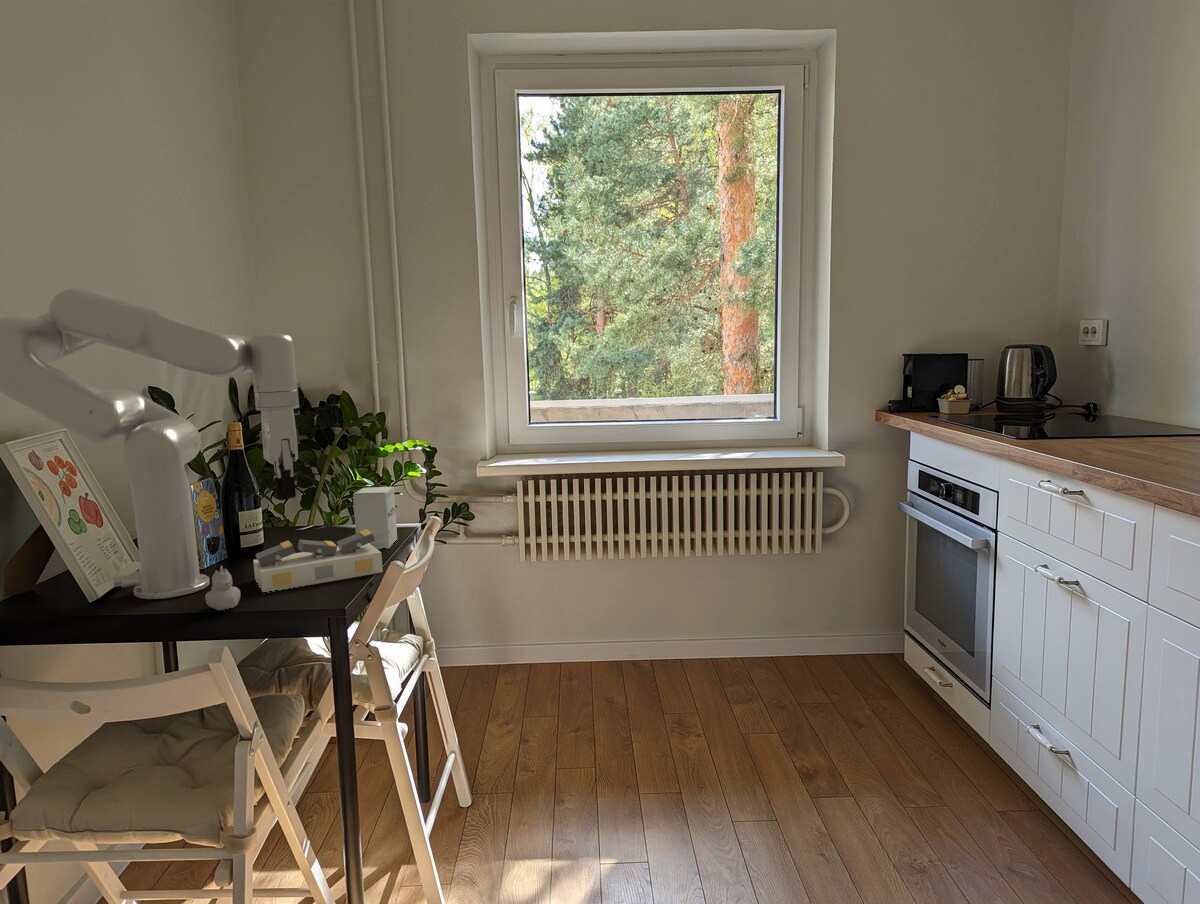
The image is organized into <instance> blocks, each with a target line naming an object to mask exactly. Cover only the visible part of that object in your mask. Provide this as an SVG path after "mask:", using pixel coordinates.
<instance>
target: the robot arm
mask: <svg viewBox="0 0 1200 904" xmlns="http://www.w3.org/2000/svg"><path fill="white" fill-rule="evenodd" d="M97 343H99V344H102V345H106V346H109V347H113V348H117V349H119V350H124V351H127V352H131V353H134V354H137V355H140V356H144V357H145V358H148V359H152V360H155V361H158V362H161V363H164V364H167V365H170V366H174V367H177V368H181V369H183V370H188V371H191V372H195V373H198V374H202V375H206V376H210V377H216V378H225V377H233V376H238V375H243V374H244V375H245V374H249V373H251V374H252V383H253V392H254V402H255V403H254V404H255V410H256V411H260V415H261V417H260V419H261V420H260V421H261V437H262V438H261V439H262V452H263V454H262V455H263V459H264V460H265V461H266V462H268V463H269V464H271V465H273V469H274V476H275V477H274V483H275V493H276V495H275V496H276V498H277V499H278V500H287V499H295V498H296V497H297V496H296V495H297V493H296V483H295V476H294V463H295V462H296V461H297V460H298V459H299V449H298V447H299V446H298V437H297V436H298V435H297V428H296V419H295V412H294V409H299V408H300V401H299V390H298V381H297V379H298V378H297V368H296V360H295V359H296V357H295V356H296V355H295V345H294V340H293V338H292V337H291V336H290V335H289V334H286V333H266V334H265V333H263V334H255V335H253V336H251V335H242V334H240V335H239V334H229V333H215V332H212V331H208V330H204V329H201V328H197V327H193V326H191V325H187V324H184V323H182V322H181V323H180V322H178V321H174V320H172V319H170V318H168V317H166V316H164V314H162V312H160V311H159V310H157V309H154V308H152V307H147V306H143V305H140V304H137V303H133V302H129V301H125V300H121V299H119V298H116V297H113V296H112V295H111V294H108V293H106V292H104V291H101V290H95V289H88V288H87V289H86V288H77V287H75V288H74V287H72V288H66V289H63V290H61V291H59V292H58V293H56V294H55V295H54V297H53V298H52V299H51V300H50V303H49V306H48V312H46V313H44V314H42V315H40V316H36V317H28V316H27V317H26V316H3V317H2V316H1V317H0V393H1V394H3V395H4V396H6V397H8V398H9V399H11V400H13V401H14V402H16V403H19V404H21V405H22V406H25V407H26V408H27V409H30V410H32V411H34V412H36V413H38V414H40V415H41V416H43V417H44V418H46V419H48V420H50V421H52V422H53V423H56V424H58V425H59V426H61V427H64V428H66V429H67V430H69V431H71V432H73V433H75V434H76V435H78V436H81V437H82V438H84V439H85V440H87V441H90V442H93V443H98V444H106V443H111V442H115V441H122V442H123V445H122V458H123V463H124V467H125V471H126V474H127V477H128V481H129V485H130V492H131V498H132V499H131V500H132V505H133V507H132V508H133V512H134V521H135V522H134V523H135V529H136V530H135V531H136V537H137V539H136V540H137V546H138V556H139V564H140V566H138V570H137V571H132V573H130V574H121V575H113V577H112V578H113V585H114V587H115V588H116V587H121V588H127V587H128V588H129V587H132V586H134V588H133V596H135V597H136V598H139V599H145V600H158V599H159V600H161V599H170V598H177V597H182V596H185V595H190V594H192V593H193V594H194V593H196V592H198V591H201V590H203V589H205V588H207V587H209V585H210V583H211V582H210V581H211V580H210V577H209V575H208V576H207V575H206V574H203V573H200V565H199V564H200V563H199V556H198V545H197V538H196V537H197V536H196V529H195V528H196V527H195V518H194V510H193V509H194V507H193V503H192V502H193V501H192V493H191V492H192V491H191V487H190V483H189V478H188V475H187V472H186V469H185V465H186V464H188V463H190V462H191V461H193V459H195V458H196V457H197V455H199V453H200V450H201V447H202V438H201V434H200V432H199V431H198V429H197V427H196V426H195V425H194V424H193V423H192V422H190V421H189V420H188V419H186V418H185V417H183V416H181V415H179V414H178V413H175V412H173V411H172V410H169V409H168V408H166V407H164V406H162V405H161V404H158V403H157V402H154V401H153V400H151V399H149V398H147V397H145V396H143V395H142V394H139V393H137V392H134V391H131V390H128V389H123V388H109V389H102V388H98V387H95V386H93V385H91V384H90V383H89V384H88V383H86V382H84V381H82V380H81V379H78V377H75V376H74V375H72V374H70V373H68V372H65V371H64V370H62V369H60V368H57V367H54V366H52V365H49V364H50V363H51V364H52V363H53V362H56V361H59V360H62V359H64V358H67V357H68V356H71V355H73V354H74V353H76V352H79V351H81V350H84V349H86V348H88V347H90V346H92V345H94V344H97ZM293 462H294V463H293Z"/></svg>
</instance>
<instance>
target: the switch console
mask: <svg viewBox="0 0 1200 904" xmlns="http://www.w3.org/2000/svg"><path fill="white" fill-rule="evenodd" d="M382 556H383V555H382V552H381V551H380V549H376V548H375V547H374V546H372V545H371V544H370V543H368V544H366V545H363V546H361V547H358V548H356V549H353V550H351V551H348V552H346V553H343V552H342V551H341V550H340V549H339V547H338V546H337V550H336V555H335V554H321V553H308V552H301V551H300V552H296V553H294V554H292V555H289V556H287V557H284V558H282V559H279V560H276V561H274V562H271V563H269V564H266V565H264V566H261V565H260V564H259V562H258V560H257V558H256V559H253V562H252V563H253V570H254V571H253V572H254V580H256V581H255V583H256V584H257V583H258V584H257V586H258V585H259V586H258V588H259V589H260V588H261V589H260V591H261V590H262V591H261V592H267V593H270V592H269V591H272V592H276V591H275V590H278V591H282V590H283V589H284V590H288V589H289V588H290V589H295V588H300V586H301V587H306V585H307V586H312V585H318V584H323V583H329V582H335V581H340V580H346V579H352V578H357V577H364V576H369V575H370V576H371V575H375V574H380V573H383V571H384V570H383V558H382ZM294 587H295V588H294Z"/></svg>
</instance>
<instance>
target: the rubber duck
mask: <svg viewBox="0 0 1200 904" xmlns="http://www.w3.org/2000/svg"><path fill="white" fill-rule="evenodd" d="M211 583H212V586H211V590H210V591H208V592H206V594H205V597H204V598H205V603H206V604H207V605H208V606H209V607H210V608H212V609H214V610H216V611H221V610H223V611H225V610H224V609H228V610H230V609H229V608H231V609H233V608H235V607H237V605H238V603H239V601H240V600H241V590H240V589H239V588H238V587H237V586H234V585H233V577H232V575H231V573H230V572H229V571H228V569H227V568H224V567H223V565H222V564H220V567H219V571H218V570H217V569H216V570H215V571H214V573H213V575H212V577H211Z"/></svg>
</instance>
